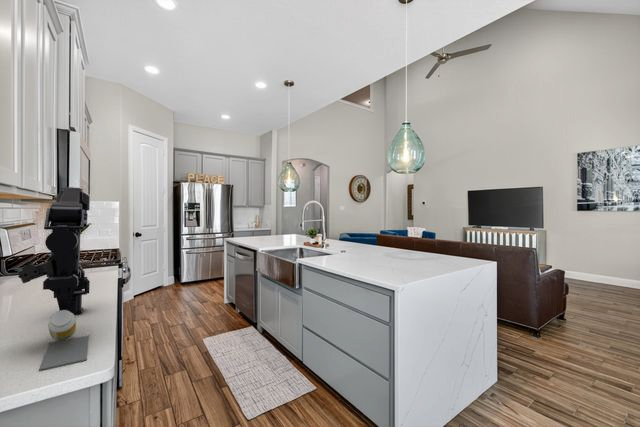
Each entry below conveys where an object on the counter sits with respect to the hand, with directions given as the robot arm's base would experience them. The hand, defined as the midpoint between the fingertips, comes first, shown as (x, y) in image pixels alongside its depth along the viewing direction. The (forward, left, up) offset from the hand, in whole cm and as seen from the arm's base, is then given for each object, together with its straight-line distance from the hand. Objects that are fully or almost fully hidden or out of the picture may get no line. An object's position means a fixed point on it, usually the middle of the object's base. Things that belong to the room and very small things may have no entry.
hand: (63, 310), depth 76 cm
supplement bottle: (-4, 0, -7) cm, 7 cm away
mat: (+7, +1, -8) cm, 11 cm away
